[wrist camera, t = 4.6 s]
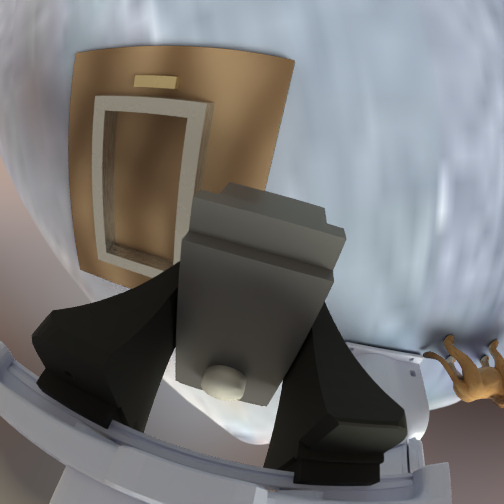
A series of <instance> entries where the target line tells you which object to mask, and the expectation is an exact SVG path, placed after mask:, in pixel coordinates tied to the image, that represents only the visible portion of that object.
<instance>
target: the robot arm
mask: <svg viewBox="0 0 504 504" xmlns="http://www.w3.org/2000/svg"><path fill="white" fill-rule="evenodd" d="M179 268H180V261H179V262H177V263H176V264H174V265H173V266H171V267H170V268H168V269H167V270H165V271H163V272H162V273H160V274H159V275H157V276H155V277H153V278H152V279H150V280H148V281H146V282H145V283H143V284H141V285H139V286H137V287H135V288H132V289H130V290H128V291H126V292H123V293H121V294H118V295H115V296H112V297H110V298H107V299H104V300H101V301H97V302H94V303H90V304H86V305H82V306H77V307H72V308H66V309H60V310H53V311H52V312H51V313H50V314H49V315H48V316H47V317H46V318H45V320H44V321H43V322H42V323H41V324H40V326H39V327H38V328H37V329H36V330H35V332H34V333H33V334H32V343H33V345H34V348H35V350H36V352H37V354H38V355H39V357H40V359H41V361H42V362H43V364H44V366H45V368H46V369H45V370H44V371H43V373H42V374H41V376H40V377H38V376H37V375H35V374H34V373H32V372H31V371H30V370H28V369H27V368H25V367H24V366H23V365H21V364H20V363H19V362H17V361H16V360H15V359H14V357H13V355H12V354H11V352H10V350H9V349H8V348H7V347H6V346H5V345H4V344H3V343H2V342H1V341H0V416H1V417H2V418H4V419H5V420H6V421H7V422H8V423H9V424H10V425H12V426H13V427H14V428H15V429H16V430H17V431H19V432H20V433H21V434H22V435H24V436H25V437H26V438H27V439H29V440H30V441H32V442H33V443H34V444H35V445H37V446H38V447H39V448H41V449H42V450H44V451H45V452H46V453H48V454H49V455H51V456H52V457H54V458H55V459H57V460H58V461H60V462H61V463H63V464H64V465H66V468H65V470H64V472H63V474H62V476H61V478H60V481H59V483H58V485H57V487H56V490H55V492H54V494H53V496H52V499H51V501H50V503H49V504H452V498H451V497H452V496H451V482H450V471H449V463H447V462H445V463H439V464H432V465H428V466H425V465H424V464H425V463H424V455H423V446H422V442H421V441H420V439H421V438H422V436H423V434H424V433H425V431H426V428H427V425H428V419H429V406H428V401H427V396H426V391H425V387H424V382H423V378H422V374H421V370H420V366H419V364H420V363H421V362H422V360H423V356H422V355H417V354H411V353H405V352H398V351H393V350H387V349H381V348H376V347H370V346H365V345H360V344H355V343H349V342H345V341H344V339H343V338H342V336H341V334H340V332H339V331H338V329H337V327H336V325H335V323H334V321H333V319H332V317H331V315H330V312H329V310H328V308H327V306H326V304H325V301H324V304H323V306H322V308H321V310H320V312H319V314H318V316H317V318H316V319H315V321H314V323H313V325H312V327H311V329H310V331H309V333H308V335H307V337H306V339H305V341H304V342H303V344H302V346H301V348H300V350H299V352H298V354H297V355H296V357H295V359H294V361H293V363H292V364H291V366H290V368H289V370H288V371H287V373H286V375H285V377H284V378H283V383H282V390H281V396H280V401H279V406H278V411H277V415H276V420H275V425H274V429H273V433H272V437H271V441H270V445H269V449H268V452H267V456H266V459H265V463H264V466H263V467H257V466H252V465H247V464H242V463H237V462H233V461H228V460H224V459H220V458H216V457H213V456H209V455H205V454H202V453H198V452H195V451H192V450H188V449H185V448H182V447H179V446H176V445H173V444H170V443H167V442H165V441H162V440H159V439H156V438H154V437H152V436H149V435H146V434H144V430H145V426H146V423H147V420H148V417H149V414H150V411H151V408H152V405H153V402H154V399H155V396H156V393H157V390H158V388H159V385H160V382H161V380H162V377H163V374H164V372H165V369H166V367H167V364H168V362H169V359H170V357H171V355H172V353H173V351H174V349H175V347H176V323H177V300H178V283H179ZM115 443H116V444H118V445H120V446H119V447H117V446H116V444H115ZM266 489H269V490H276V492H269V491H267V490H266Z"/></svg>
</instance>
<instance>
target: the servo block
mask: <svg viewBox="0 0 504 504" xmlns="http://www.w3.org/2000/svg"><path fill="white" fill-rule="evenodd" d="M345 241H346V236H345V232H344V229H343V228H340V227H337V226H333V225H330V224H327V222H326V215H325V208H323V207H320V206H316V205H313V204H309V203H306V202H303V201H299V200H296V199H292V198H289V197H285V196H281V195H278V194H274V193H270V192H267V191H263V190H259V189H255V188H251V187H247V186H243V185H240V184H235V183H231V182H229V183H228V184H227V185H226V186H225V187H224V189H223V190H222V191H221V192H220V193H219V194H217V193H213V192H209V191H205V190H200V191H198V192H197V193H196V194H195V195H194V196H193V199H192V207H191V215H190V224H189V231H188V232H187V234H186V235H185V236H184V237H183V239H182V243H181V255H180V268H179V283H178V300H177V323H176V381H179V383H182V384H185V385H188V386H191V387H194V388H198V389H201V390H204V391H205V392H206V393H207V394H209V395H210V396H212V397H214V398H217V399H220V400H225V401H235V400H239V401H243V402H247V403H251V404H256V405H260V406H267V405H268V403H269V402H270V400H271V399H272V397H273V395H274V394H275V392H276V390H277V389H278V387H279V385H280V383H281V382H282V380H283V378H284V377H285V375H286V373H287V371H288V370H289V368H290V366H291V364H292V363H293V361H294V359H295V357H296V355H297V354H298V352H299V350H300V348H301V346H302V344H303V342H304V341H305V339H306V337H307V335H308V333H309V331H310V329H311V327H312V325H313V323H314V321H315V319H316V318H317V316H318V314H319V312H320V310H321V308H322V306H323V304H324V301H325V299H326V297H327V295H328V293H329V291H330V289H331V287H332V285H333V283H334V277H333V269H334V267H335V265H336V262H337V260H338V258H339V255H340V253H341V251H342V248H343V246H344V244H345Z"/></svg>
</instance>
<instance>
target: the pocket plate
mask: <svg viewBox="0 0 504 504" xmlns="http://www.w3.org/2000/svg"><path fill="white" fill-rule="evenodd" d="M294 65H295V61H294V60H290V59H286V58H281V57H276V56H270V55H265V54H259V53H252V52H246V51H238V50H230V49H220V48H208V47H192V46H138V47H122V48H111V49H101V50H93V51H86V52H80V53H76V57H75V63H74V70H73V78H72V87H71V98H70V112H69V145H68V150H69V183H70V197H71V209H72V218H73V227H74V235H75V242H76V248H77V254H78V260H79V266H80V270H83V271H85V272H88V273H90V274H93V275H96V276H98V277H101V278H103V279H106V280H109V281H111V282H114V283H117V284H119V285H122V286H125V287H128V288H130V289H132V288H135V287H137V286H139V285H141V284H143V283H145V282H146V281H148V280H150V279H152V278H153V277H155V276H157V275H159V274H160V273H162V272H163V271H165V270H167V269H168V268H170V267H171V266H173V265H174V264H176V263H177V262H179V261H180V255H181V243H182V239H183V237H184V236H185V235H186V234H187V232H188V231H189V224H190V215H191V207H192V199H193V196H194V195H195V194H196V193H197V192H198V191H200V190H205V191H209V192H213V193H217V194H219V193H220V192H221V191H222V190H223V189H224V187H225V186H226V185H227V184H228V183H229V182H231V183H235V184H240V185H243V186H247V187H251V188H255V189H259V190H263V191H265V188H266V184H267V180H268V175H269V171H270V167H271V163H272V158H273V154H274V150H275V146H276V141H277V137H278V133H279V128H280V124H281V120H282V116H283V111H284V107H285V103H286V99H287V94H288V90H289V86H290V82H291V77H292V73H293V69H294Z"/></svg>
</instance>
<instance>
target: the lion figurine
mask: <svg viewBox="0 0 504 504" xmlns="http://www.w3.org/2000/svg"><path fill="white" fill-rule="evenodd" d="M453 343H454V337H453V335H449V336H447V337H446V338H445V340H444V346H445V348H446V350H447V351H448V353H449V354H450V355H451V356H450V357H448V358H447V359H446V361H445V360H444V359H443V358H442V357H441V356H439V355H437V354H435V353H433V352H431V351H429V352H425V353H424V354H423V357H424V358H431V359H436V360H438V361H439V362H441V364H442V365H443V366H444V368H445V369H446V371H447V372H448V374H449V376H450V377H451V379H452V381H453V388H454V391H455V393H456V395H457V396H458V397H459V398H460V399H461V400H463V401H465V402H471V401H474V400H476V399H482V398H490V399H492V400H493V401H494V403H495V404H496V405H497V406H499V407H501V408H504V359H503V357H502V356H501V355H500V354H499V352H498V351H497V350H496V347H497V346H498V341H497V340H495V341H493V342H492V343H491V344H490V345H489V348H488V349H489V351H490V354H491V355H492V356H493V358H494V360H495V367H494V368H493V367H490V366H489V363H488V360H489V357H488V356H484V357H483V358H482V359H481V360H480V363H481V365H482V367H480V368H477V367H476V365H475V364H474V362H473V361H472V360H471V359H470V358H469V357H468V356H467V355H466V354H464V353H463V352H461V351H460V350H458V349H457V348H455V347H454V346H453V345H452V344H453ZM456 360H457V361H458V363H459V364H460V366H461V368H462V375H463V376H462V375H461V374H460V373H459V372H458V371H457V370H456V368H455V366H454V362H455V361H456Z"/></svg>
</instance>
